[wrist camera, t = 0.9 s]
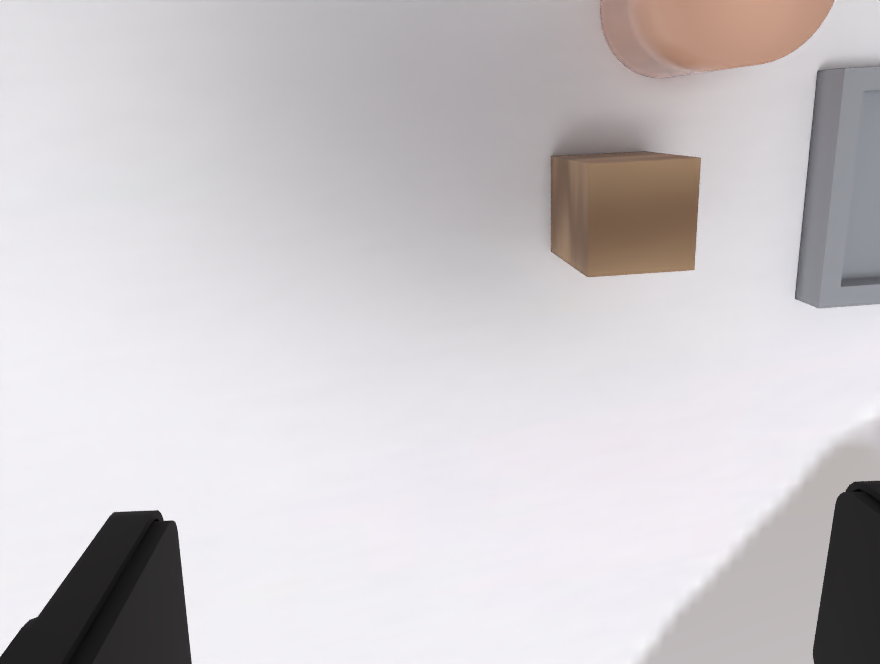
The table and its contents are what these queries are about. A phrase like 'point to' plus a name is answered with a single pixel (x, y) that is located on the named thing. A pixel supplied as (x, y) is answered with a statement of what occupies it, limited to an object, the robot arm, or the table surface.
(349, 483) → the table surface
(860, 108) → the tray
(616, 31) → the peach round domed cylinder
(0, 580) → the table surface
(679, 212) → the walnut block
